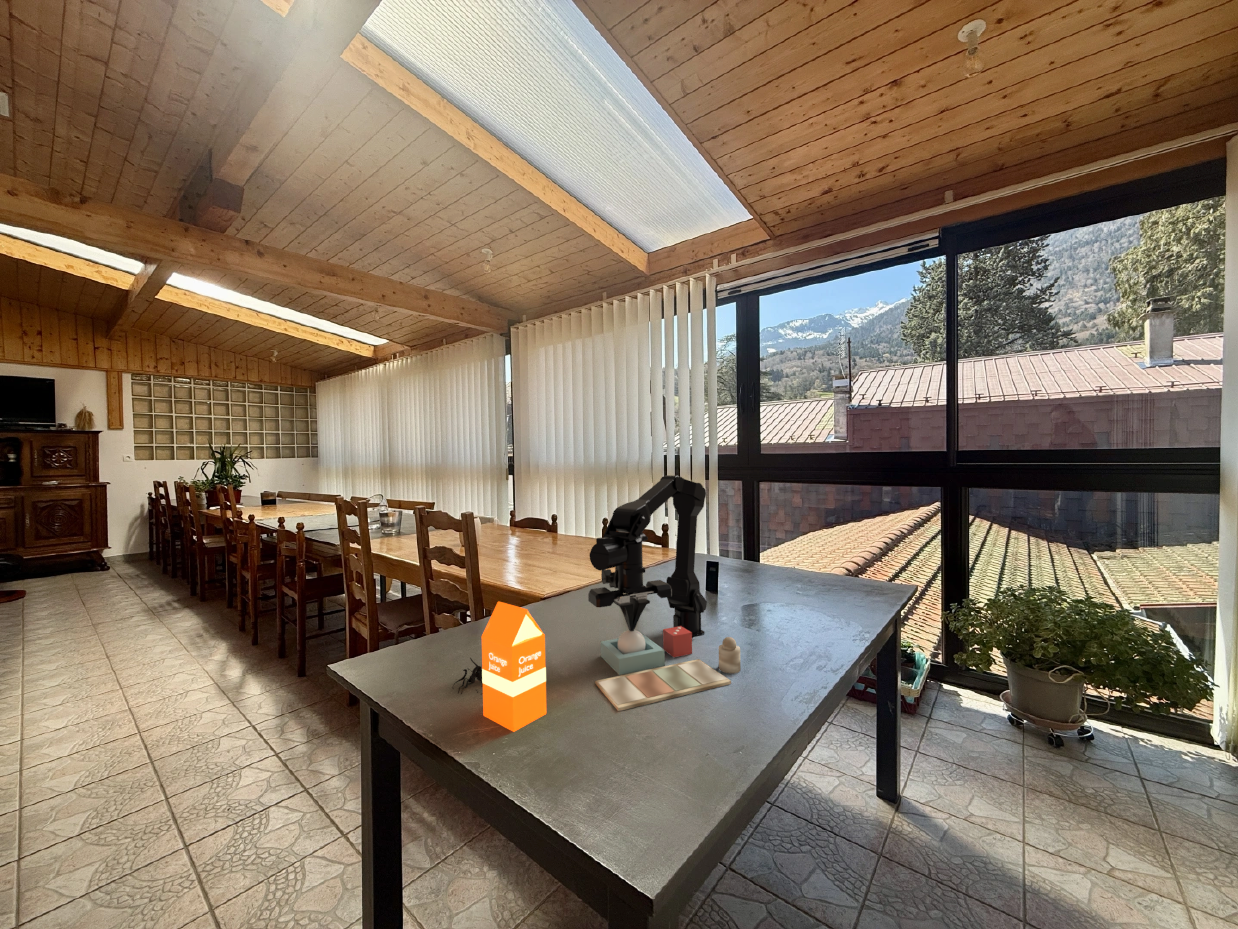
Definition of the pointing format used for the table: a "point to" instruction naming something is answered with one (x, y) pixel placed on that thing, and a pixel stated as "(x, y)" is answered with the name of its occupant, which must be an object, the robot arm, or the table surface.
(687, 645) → the red die
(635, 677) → the game board
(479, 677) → the creature
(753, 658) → the table surface
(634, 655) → the housing
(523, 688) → the orange juice
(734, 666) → the pawn
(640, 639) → the white ball
